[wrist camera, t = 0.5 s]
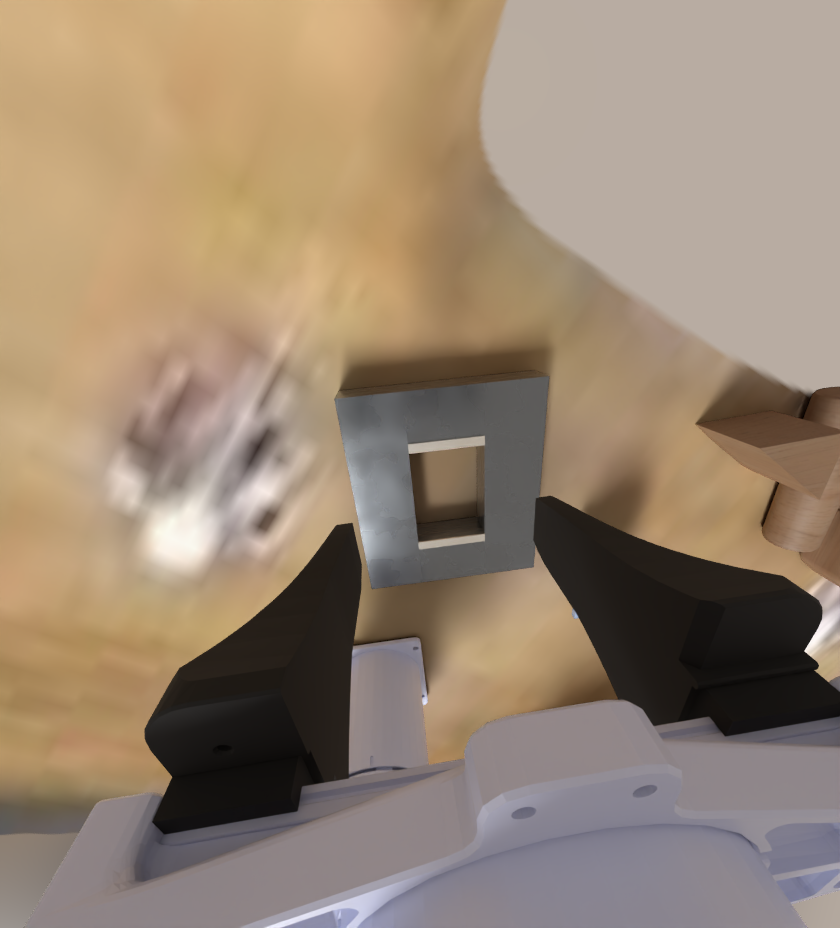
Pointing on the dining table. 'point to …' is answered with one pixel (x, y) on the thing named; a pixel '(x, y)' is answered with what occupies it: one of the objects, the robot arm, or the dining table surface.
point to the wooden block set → (795, 474)
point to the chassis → (440, 428)
